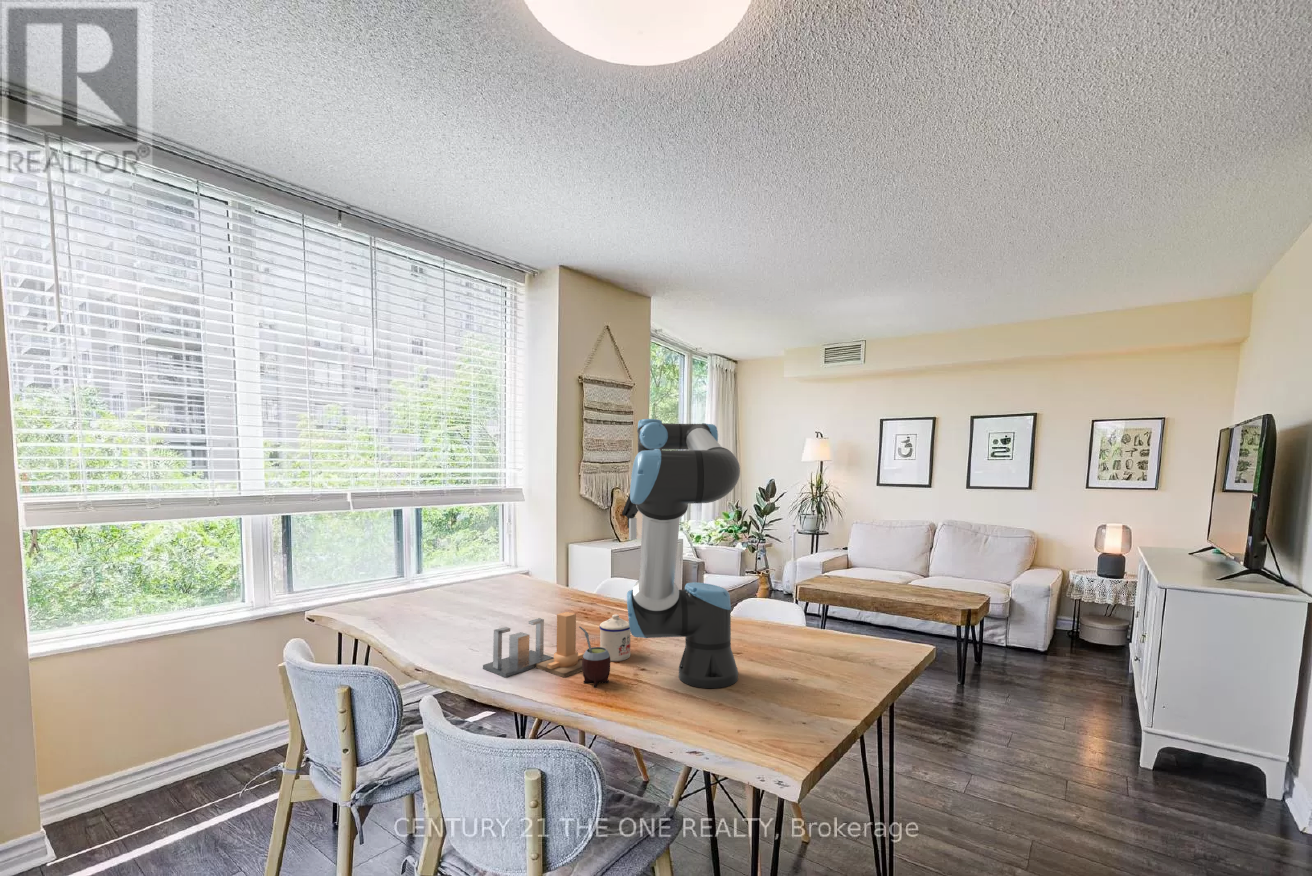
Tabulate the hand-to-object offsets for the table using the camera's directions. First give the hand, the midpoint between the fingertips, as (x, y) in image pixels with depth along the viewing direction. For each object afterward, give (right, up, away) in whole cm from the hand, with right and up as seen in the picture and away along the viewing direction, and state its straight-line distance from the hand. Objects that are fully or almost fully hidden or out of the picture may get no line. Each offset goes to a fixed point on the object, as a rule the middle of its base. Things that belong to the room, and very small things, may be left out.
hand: (649, 541), depth 167 cm
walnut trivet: (-22, -31, -17) cm, 42 cm away
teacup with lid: (-9, -32, -7) cm, 34 cm away
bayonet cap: (-22, -30, -17) cm, 41 cm away
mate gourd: (-13, -30, -28) cm, 44 cm away
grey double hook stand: (-35, -31, -15) cm, 49 cm away
